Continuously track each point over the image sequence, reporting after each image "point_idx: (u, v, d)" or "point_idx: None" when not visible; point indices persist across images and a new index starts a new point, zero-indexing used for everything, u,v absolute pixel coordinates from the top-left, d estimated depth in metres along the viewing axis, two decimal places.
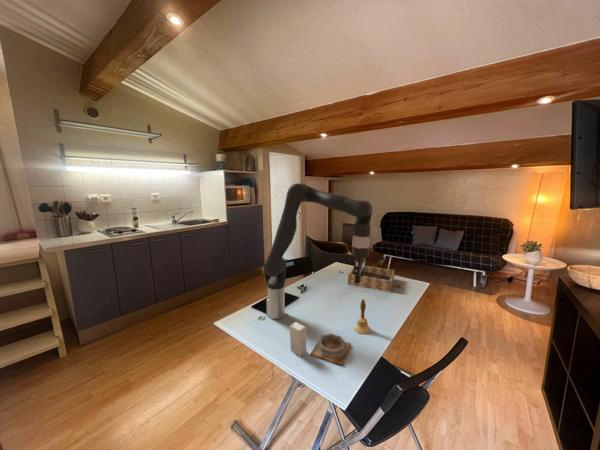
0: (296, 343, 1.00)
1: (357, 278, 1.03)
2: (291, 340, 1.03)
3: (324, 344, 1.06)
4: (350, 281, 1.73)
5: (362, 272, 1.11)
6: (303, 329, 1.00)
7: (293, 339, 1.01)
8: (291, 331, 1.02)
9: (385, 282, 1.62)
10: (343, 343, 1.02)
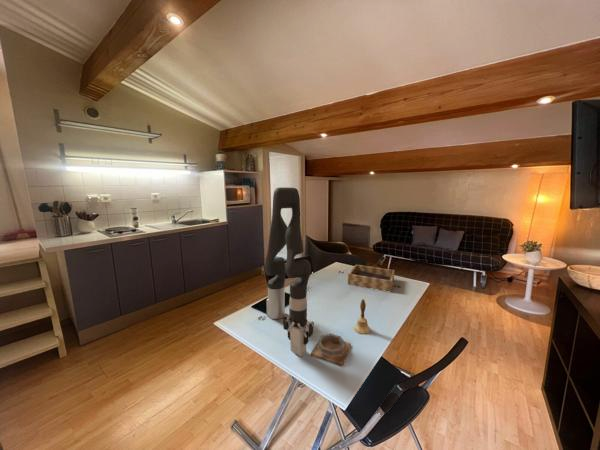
0: (296, 343, 1.00)
1: (308, 338, 1.00)
2: (291, 340, 1.03)
3: (324, 344, 1.06)
4: (350, 281, 1.73)
5: None
6: None
7: (293, 339, 1.01)
8: (291, 331, 1.02)
9: (385, 282, 1.62)
10: (343, 343, 1.02)
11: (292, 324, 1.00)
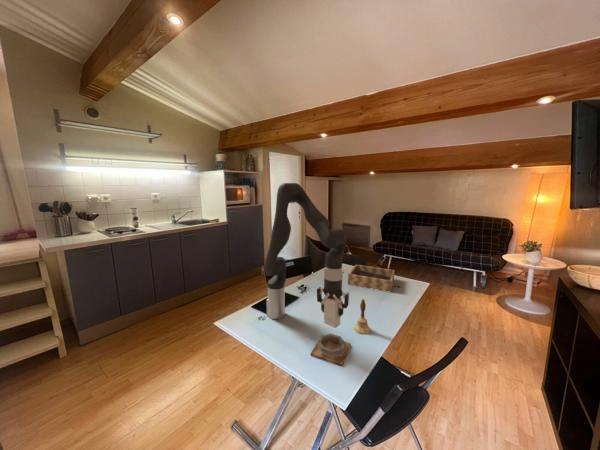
0: (330, 315, 0.99)
1: None
2: (324, 312, 1.01)
3: (324, 344, 1.06)
4: (350, 281, 1.73)
5: None
6: None
7: (327, 311, 1.00)
8: (325, 303, 1.00)
9: (385, 282, 1.62)
10: (343, 343, 1.02)
11: (327, 296, 0.99)
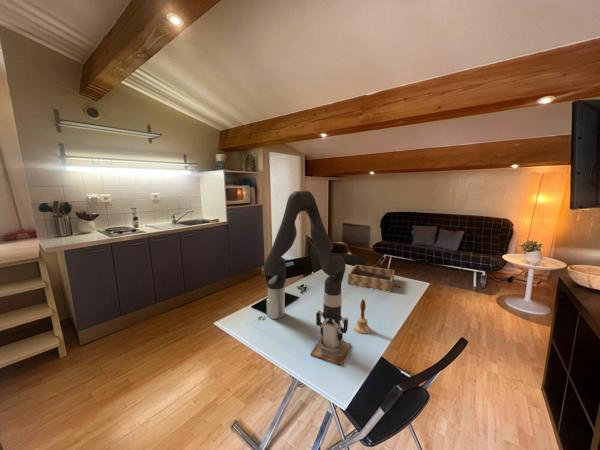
0: (329, 340, 1.01)
1: (342, 334, 1.01)
2: (324, 337, 1.03)
3: None
4: (350, 281, 1.73)
5: None
6: None
7: (327, 336, 1.02)
8: (324, 328, 1.02)
9: (385, 282, 1.62)
10: (343, 343, 1.02)
11: (326, 320, 1.01)
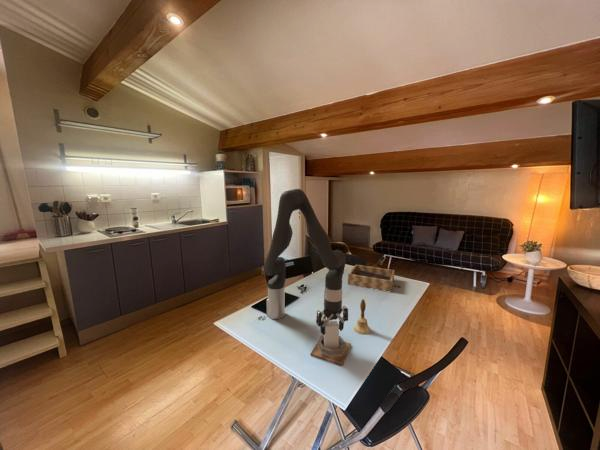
0: (334, 340, 1.01)
1: None
2: (326, 340, 1.01)
3: None
4: (350, 281, 1.73)
5: None
6: (337, 323, 1.02)
7: (330, 338, 1.01)
8: (327, 331, 1.00)
9: (385, 282, 1.62)
10: (343, 343, 1.02)
11: (330, 317, 0.99)
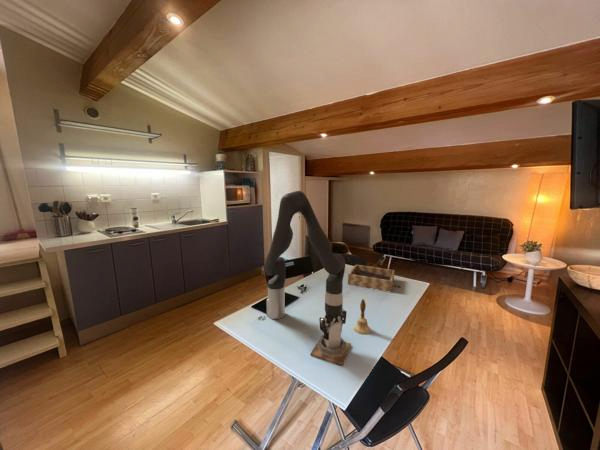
0: (336, 338, 1.02)
1: None
2: (330, 340, 1.01)
3: (324, 344, 1.06)
4: (350, 281, 1.73)
5: None
6: None
7: (333, 337, 1.01)
8: (331, 330, 1.00)
9: (385, 282, 1.62)
10: (343, 343, 1.02)
11: (333, 321, 1.00)
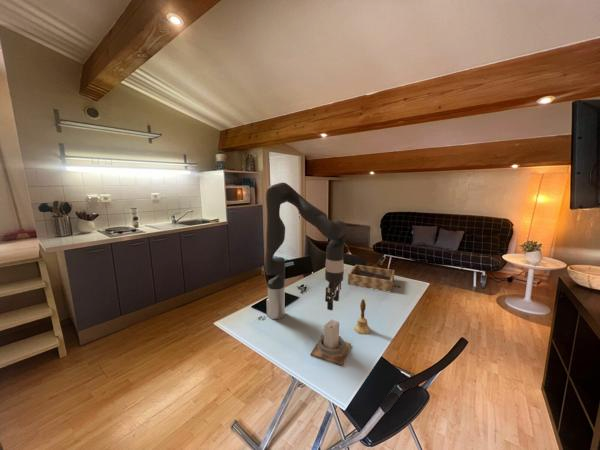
0: (336, 338, 1.02)
1: None
2: (332, 342, 1.00)
3: None
4: (350, 281, 1.73)
5: None
6: None
7: (334, 338, 1.01)
8: (333, 332, 0.99)
9: (385, 282, 1.62)
10: (343, 343, 1.02)
11: (336, 289, 0.97)
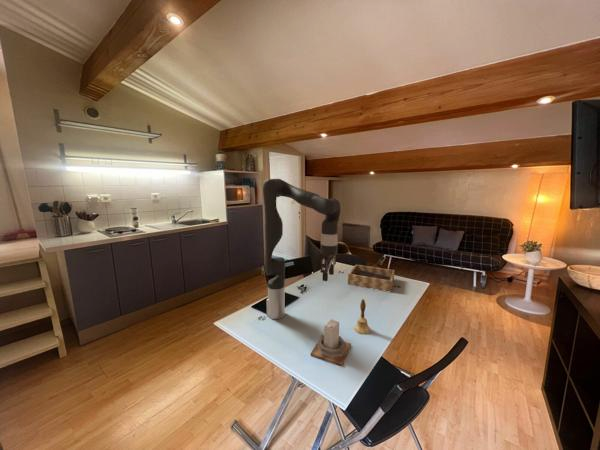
0: (336, 338, 1.02)
1: None
2: (332, 342, 1.00)
3: None
4: (350, 281, 1.73)
5: None
6: None
7: (334, 338, 1.01)
8: (333, 332, 0.99)
9: (385, 282, 1.62)
10: (343, 343, 1.02)
11: (331, 262, 1.05)
